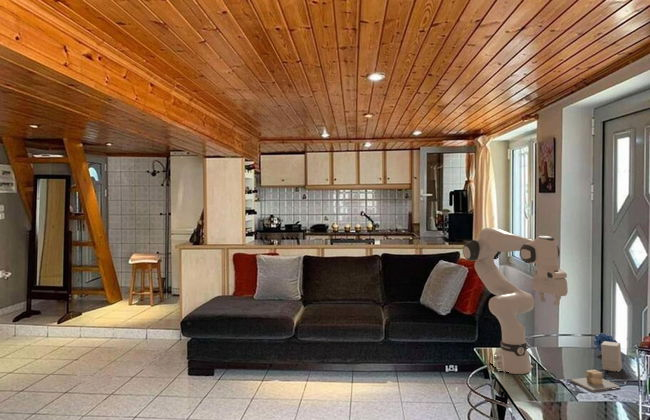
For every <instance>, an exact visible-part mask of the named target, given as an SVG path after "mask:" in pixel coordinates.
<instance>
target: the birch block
mask: <svg viewBox="0 0 650 420" xmlns="http://www.w3.org/2000/svg"><path fill="white" fill-rule="evenodd" d="M585 372H586V374H585V375H586V377H587V382H589V383H591V384H593V385H597V384H603V380H602V379H603V372H601V371H599V370H596V369H589V370H588V369H587V370H585ZM586 377H585V378H586Z"/></svg>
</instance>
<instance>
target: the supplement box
mask: <svg viewBox="0 0 650 420" xmlns="http://www.w3.org/2000/svg"><path fill="white" fill-rule="evenodd" d="M600 352H601V363H602V364H601V365H602V370H605V371H611V372H616V371H617V372H620V371H621V370H622V369H623V365H622V349H621V342H617V343H616V342H607V341H604V342H603V343H602V344H601V351H600ZM617 372H616V373H617Z"/></svg>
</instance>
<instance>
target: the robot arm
mask: <svg viewBox="0 0 650 420" xmlns="http://www.w3.org/2000/svg"><path fill="white" fill-rule="evenodd" d="M508 252H509V253H510V252H519V256H520V259H521V260H522V262H524V263H525V264H531V265H533V264H536V270H534V272H533V274H532V282H531V283H532V284H531V286H532V287H531V288H532V289H533V291H536V292H537V293H538V295H539V296H538V297H539V298H540V302H542V303H546V302H547V297H545V295H544V294H548V295H552V296H553V295H554V298H555V299H554V300H553V305H554V306H560V301H561V299H562V297H566V296H567V295H568V291H569V290H568V282H567V279H566V278H567V277H568V276H567V275H568V274H567V272H565V271H564V270H562V269H561V268H559V267H560V265H559V262H558V259H559V257H560V253H561V252H560V248H559V246H558V245H557V241H556V239H555V238H554V236H549V235H539V236H537V237H536V238H535V239H531V238H527V237H523V236H521V235H517V234H514V233H511V232H509V231H505V230H503V229H500V228H495V227H485V228H483V229H482V230H480V232H479V235H478V238H477V239H471V240H470V241H468V242H466V243H464V245H463V246H462V254H463V257H464V258H465V259H466V260H467V261H468V262H469V261H470V262H475V263H474V265H473V266H474V270H475V272H476V274H477V275H478V277H479V279H480V280H481V282H482V283H483V285H484V286H485V287H486V289H487V290H488V292H489V293H491V294H493V295H495V296H493V297H491V298H489V301H488V309H489V311H490V313H491V314H492V315H494V317H496V319H497V320H498V322H499V324H500V329H501V340H499V343H500V348H499V349H498V350H496V351H495V352H494V355H493V360H494V361H495V362H496V363H497V364H498V368H501V369H498V370H502V371H506V372H509V373H508V374H513V375H515V374H516V375H517V374H518V375H522V374H528V373H530V372H532V369H533V365H532V364H531V359H530V353H529V351H527V350H528V345H527V342H526V329H525V326H524V325H523V324H522V323H521V322H519V321H518V318H517V315H520V314H526V313H528V312H530V311H532V310H533V309H534V308H535V305H536V304H535V303H536V302H535V298H534V296H533V295H532V294H531V293H530V292H526V291H524V290H522V289H520V288H519V287H517V286H516V285H515V284H513V283H512V282H511V281H510V280H508V279H507V277H506V276H505V275H504V274H503V273H502V271H501V270H500V268H499V267H498V266H497V265H496V263H495V261H494V260H497V259H499V256H500V255H501V253H508ZM506 372H505V373H506Z"/></svg>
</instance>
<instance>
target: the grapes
mask: <svg viewBox="0 0 650 420" xmlns="http://www.w3.org/2000/svg"><path fill="white" fill-rule="evenodd" d="M604 341H607V342H616V343H618V341H617V340H616V339H614V337H613V336H612V335H611V334H607V335H606V334H605V333H604V332H601V333H599V334H595V335H594V340H593V344H594V345H595V346H596V350H597V351H598V352H601V344H602V343H603V342H604Z"/></svg>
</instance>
